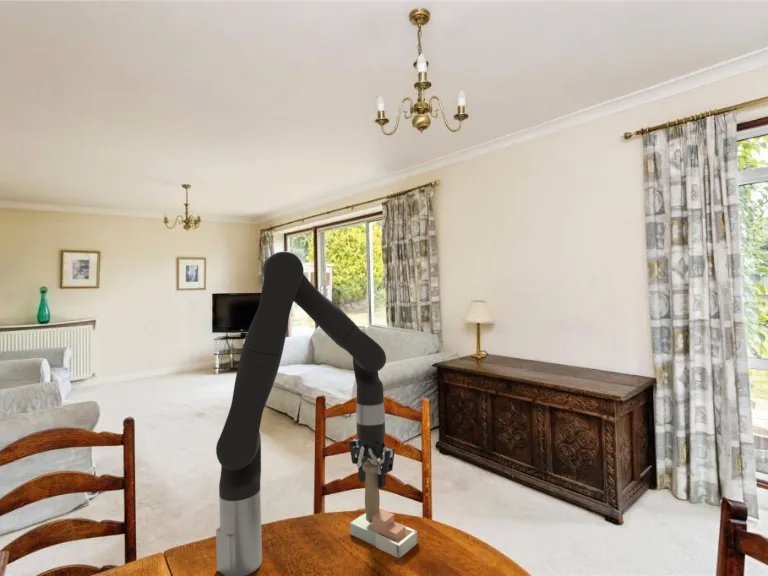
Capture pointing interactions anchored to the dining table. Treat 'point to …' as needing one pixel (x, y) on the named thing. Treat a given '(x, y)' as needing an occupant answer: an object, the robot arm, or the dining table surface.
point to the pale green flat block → (363, 530)
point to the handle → (371, 489)
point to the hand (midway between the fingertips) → (372, 483)
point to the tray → (395, 547)
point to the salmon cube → (395, 532)
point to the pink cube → (382, 521)
